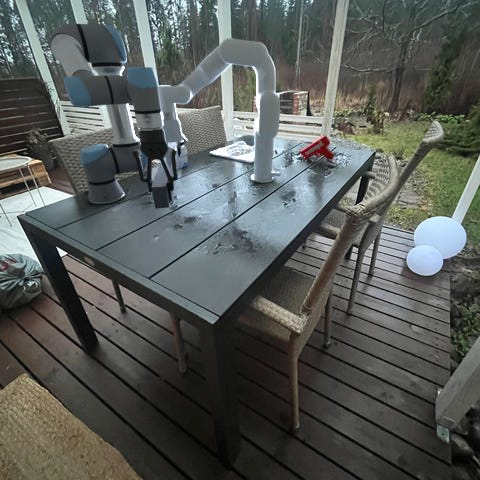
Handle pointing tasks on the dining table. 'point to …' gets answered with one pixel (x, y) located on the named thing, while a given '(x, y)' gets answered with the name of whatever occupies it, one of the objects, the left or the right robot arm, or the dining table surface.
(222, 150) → the relief map
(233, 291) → the dining table surface
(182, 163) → the ink box
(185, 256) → the dining table surface
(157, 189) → the bar
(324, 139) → the toy gun
